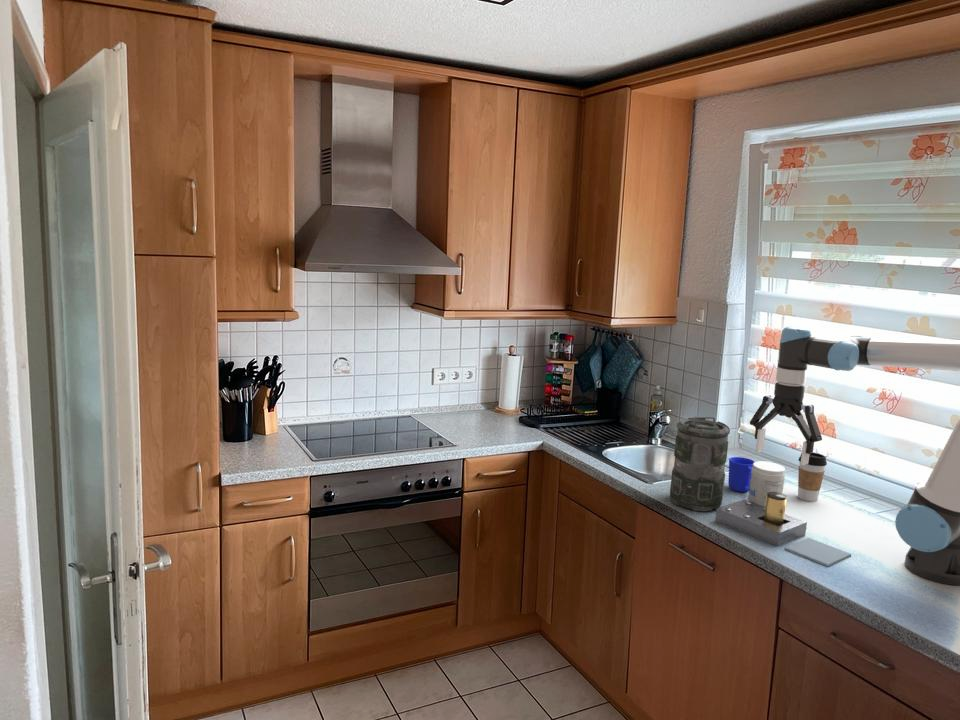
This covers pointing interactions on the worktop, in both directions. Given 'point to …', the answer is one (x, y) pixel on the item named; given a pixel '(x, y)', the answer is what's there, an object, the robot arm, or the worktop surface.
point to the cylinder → (775, 508)
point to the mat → (818, 552)
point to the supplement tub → (765, 481)
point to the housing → (760, 523)
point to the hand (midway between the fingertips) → (781, 457)
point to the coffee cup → (811, 477)
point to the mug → (740, 473)
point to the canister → (699, 464)
